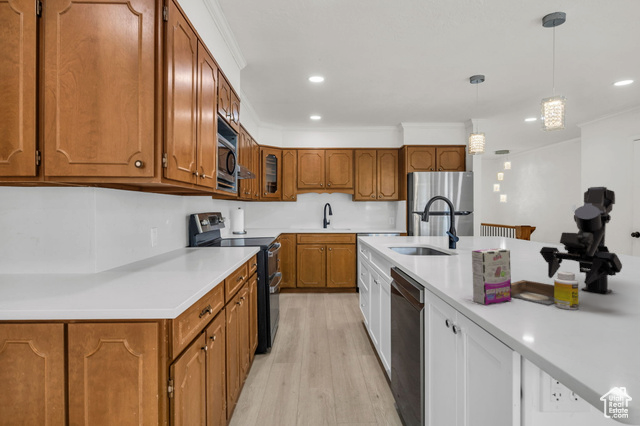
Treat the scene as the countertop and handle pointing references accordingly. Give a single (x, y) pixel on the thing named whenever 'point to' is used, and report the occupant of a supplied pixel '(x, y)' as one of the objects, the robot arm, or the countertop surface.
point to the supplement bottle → (566, 291)
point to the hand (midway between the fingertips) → (566, 280)
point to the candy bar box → (491, 276)
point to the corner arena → (533, 292)
